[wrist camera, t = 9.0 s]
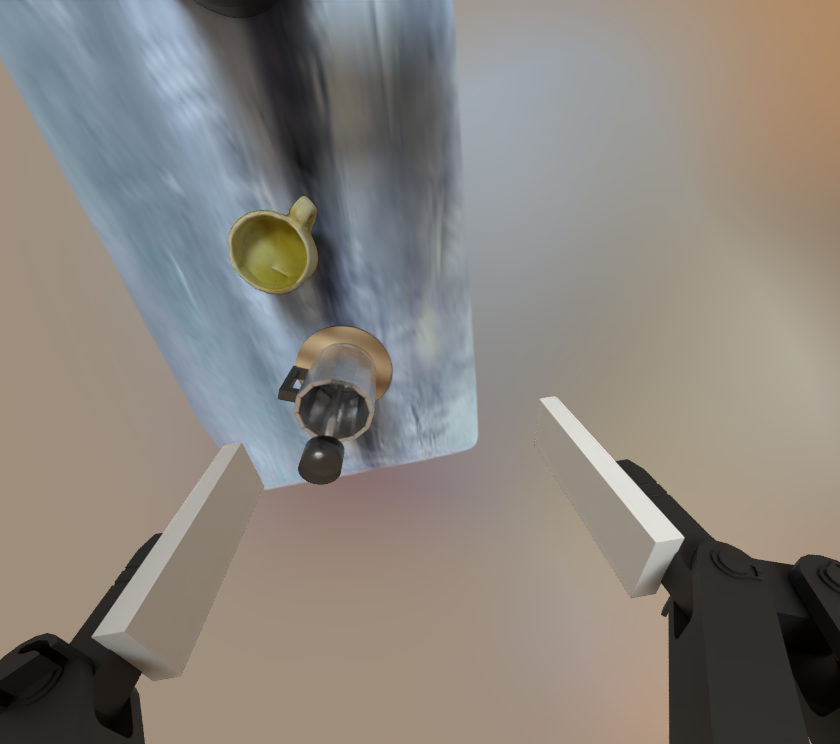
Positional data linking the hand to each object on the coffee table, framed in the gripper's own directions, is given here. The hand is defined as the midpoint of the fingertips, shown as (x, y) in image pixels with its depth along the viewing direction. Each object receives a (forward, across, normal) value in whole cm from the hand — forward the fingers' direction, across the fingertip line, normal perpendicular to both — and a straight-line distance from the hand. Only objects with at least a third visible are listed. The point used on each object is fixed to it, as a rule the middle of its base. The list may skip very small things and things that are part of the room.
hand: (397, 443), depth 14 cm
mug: (+37, -12, +7) cm, 40 cm away
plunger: (+34, -10, -14) cm, 38 cm away
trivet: (+37, -10, -14) cm, 41 cm away
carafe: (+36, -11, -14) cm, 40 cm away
